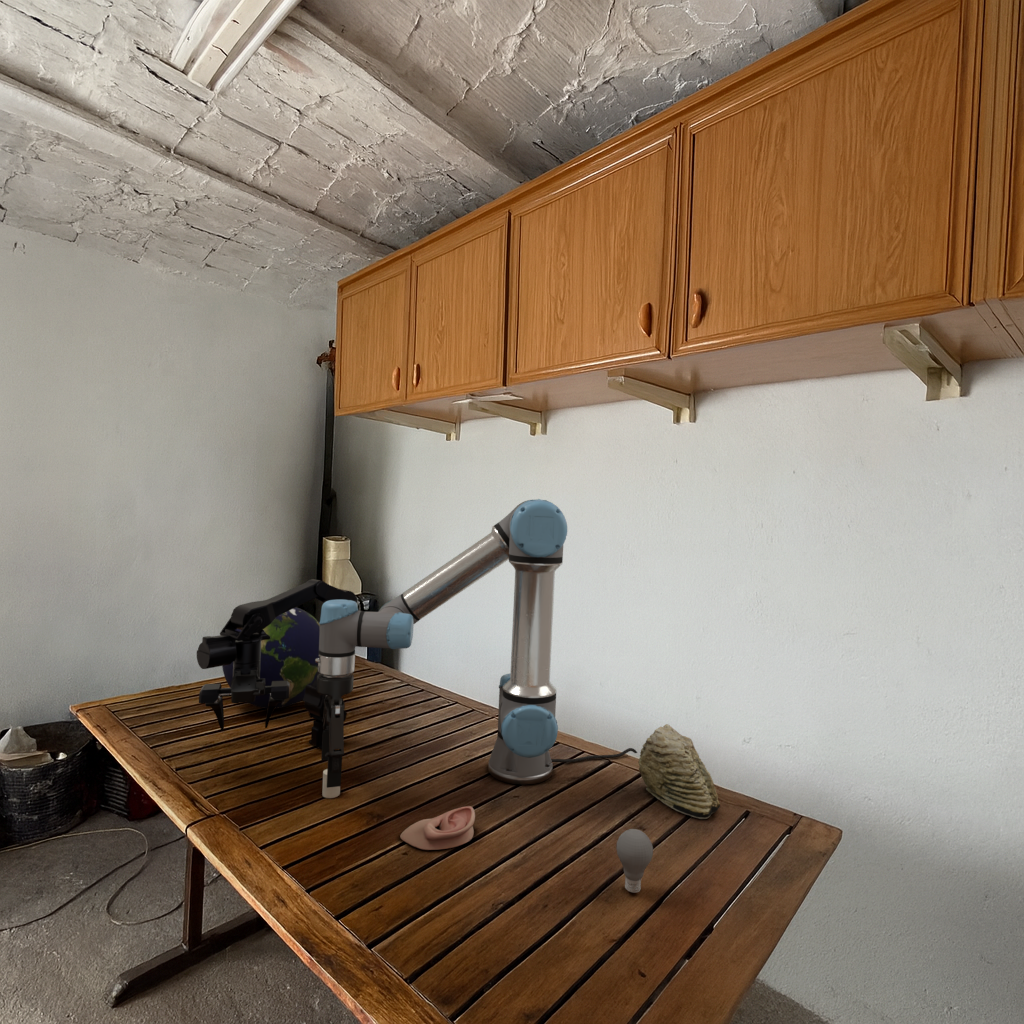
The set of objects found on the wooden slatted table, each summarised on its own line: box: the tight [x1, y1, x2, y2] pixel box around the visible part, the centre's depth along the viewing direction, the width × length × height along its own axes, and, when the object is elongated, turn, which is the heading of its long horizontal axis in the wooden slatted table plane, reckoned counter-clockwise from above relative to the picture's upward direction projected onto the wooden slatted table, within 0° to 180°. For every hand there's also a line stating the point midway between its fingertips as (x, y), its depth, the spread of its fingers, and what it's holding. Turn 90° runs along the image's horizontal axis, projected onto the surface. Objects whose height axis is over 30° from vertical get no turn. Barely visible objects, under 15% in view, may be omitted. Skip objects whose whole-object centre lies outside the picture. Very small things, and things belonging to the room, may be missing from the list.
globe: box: [221, 607, 320, 709], centre depth 188 cm, size 30×30×30 cm
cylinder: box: [321, 768, 341, 799], centre depth 135 cm, size 4×4×5 cm
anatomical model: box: [399, 805, 476, 851], centre depth 120 cm, size 13×4×12 cm
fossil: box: [637, 723, 721, 820], centre depth 139 cm, size 9×18×15 cm, turn 46°
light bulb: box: [615, 828, 654, 894], centre depth 106 cm, size 6×6×10 cm
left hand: (244, 729), depth 144 cm, fingers open, 9 cm apart
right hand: (330, 772), depth 135 cm, fingers open, 13 cm apart
